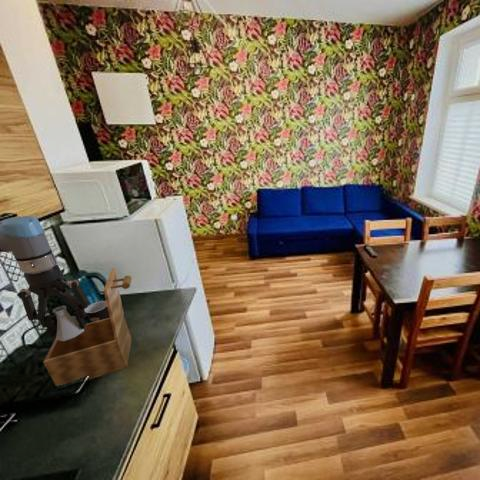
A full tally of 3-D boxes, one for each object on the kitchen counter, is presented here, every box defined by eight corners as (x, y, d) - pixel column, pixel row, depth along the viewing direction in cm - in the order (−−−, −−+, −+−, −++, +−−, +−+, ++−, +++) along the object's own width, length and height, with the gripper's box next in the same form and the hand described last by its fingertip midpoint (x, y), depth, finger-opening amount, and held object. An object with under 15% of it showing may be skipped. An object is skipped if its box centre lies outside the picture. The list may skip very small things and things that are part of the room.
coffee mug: (86, 329, 120) (79, 311, 116) (105, 317, 128) (98, 299, 124) (107, 333, 117) (100, 315, 114) (124, 320, 125) (118, 303, 121)
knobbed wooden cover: (103, 290, 88) (126, 286, 91) (111, 268, 102) (131, 265, 105) (115, 340, 95) (136, 335, 98) (121, 313, 109) (140, 310, 112)
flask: (80, 323, 92) (69, 299, 88) (88, 331, 89) (78, 306, 85) (52, 336, 87) (40, 311, 83) (60, 344, 83) (48, 319, 79)
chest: (58, 390, 92) (43, 362, 87) (72, 356, 106) (59, 330, 101) (127, 367, 101) (116, 341, 96) (131, 338, 115) (122, 314, 110)
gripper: (-15, 282, 71) (23, 348, 80) (79, 266, 79) (103, 327, 88) (0, 270, 77) (33, 332, 86) (86, 256, 85) (108, 314, 94)
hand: (69, 329), depth 87 cm, fingers closed on flask, 7 cm apart
